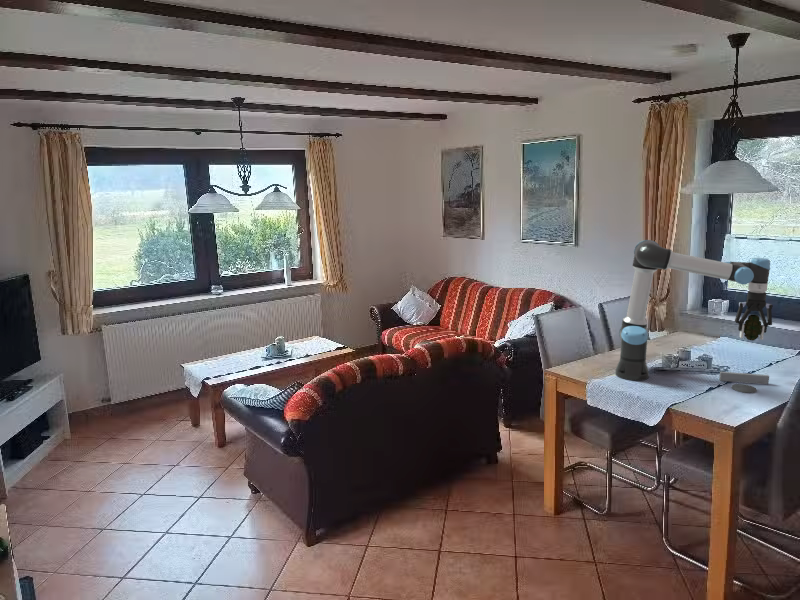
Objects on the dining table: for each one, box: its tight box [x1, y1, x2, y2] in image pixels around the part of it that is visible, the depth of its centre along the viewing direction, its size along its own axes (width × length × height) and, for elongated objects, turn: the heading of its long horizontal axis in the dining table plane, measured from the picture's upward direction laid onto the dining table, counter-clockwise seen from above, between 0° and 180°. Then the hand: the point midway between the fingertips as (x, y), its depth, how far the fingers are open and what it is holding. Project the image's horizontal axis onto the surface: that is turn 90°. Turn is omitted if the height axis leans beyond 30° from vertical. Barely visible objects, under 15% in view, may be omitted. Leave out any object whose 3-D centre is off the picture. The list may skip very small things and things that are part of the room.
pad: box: [731, 383, 758, 394], centre depth 263 cm, size 10×10×1 cm
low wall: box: [718, 371, 770, 385], centre depth 272 cm, size 20×2×4 cm, turn 72°
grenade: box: [743, 314, 762, 342], centre depth 275 cm, size 8×8×12 cm
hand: (751, 338), depth 276 cm, fingers closed on grenade, 8 cm apart
